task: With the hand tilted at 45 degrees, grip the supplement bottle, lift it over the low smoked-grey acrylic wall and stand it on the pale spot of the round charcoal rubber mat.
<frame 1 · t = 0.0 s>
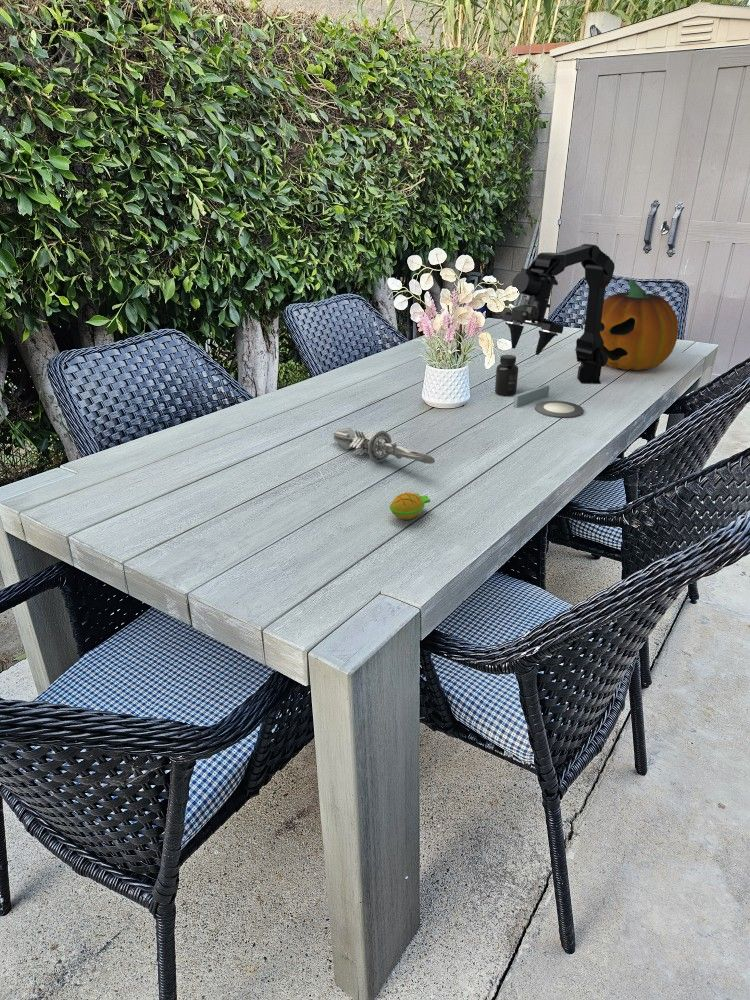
hand: (524, 351, 204), 15 cm above the table, fingers open, 9 cm apart
orange green rounded piece: (409, 516, 144), on the table
supplement bottle: (505, 394, 218), on the table
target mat: (558, 409, 204), on the table
acrylic wall: (531, 401, 211), on the table
spaceship: (380, 462, 169), on the table
decorative pumpkin: (625, 366, 248), on the table
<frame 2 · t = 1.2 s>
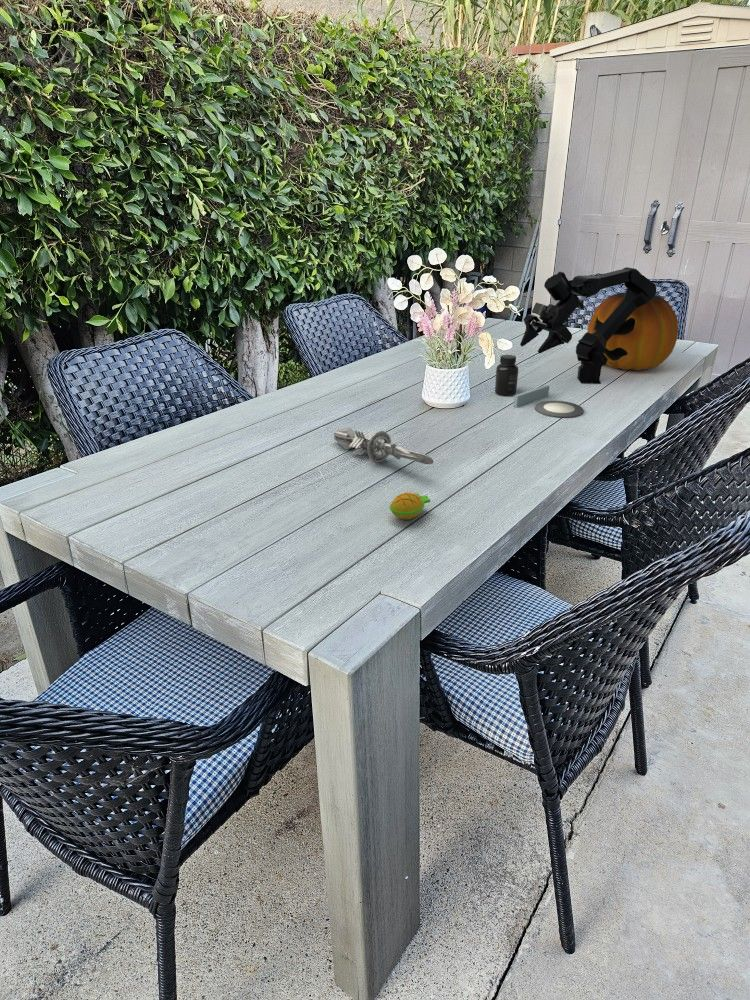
hand: (529, 349, 214), 14 cm above the table, fingers open, 9 cm apart
nothing on the table moved.
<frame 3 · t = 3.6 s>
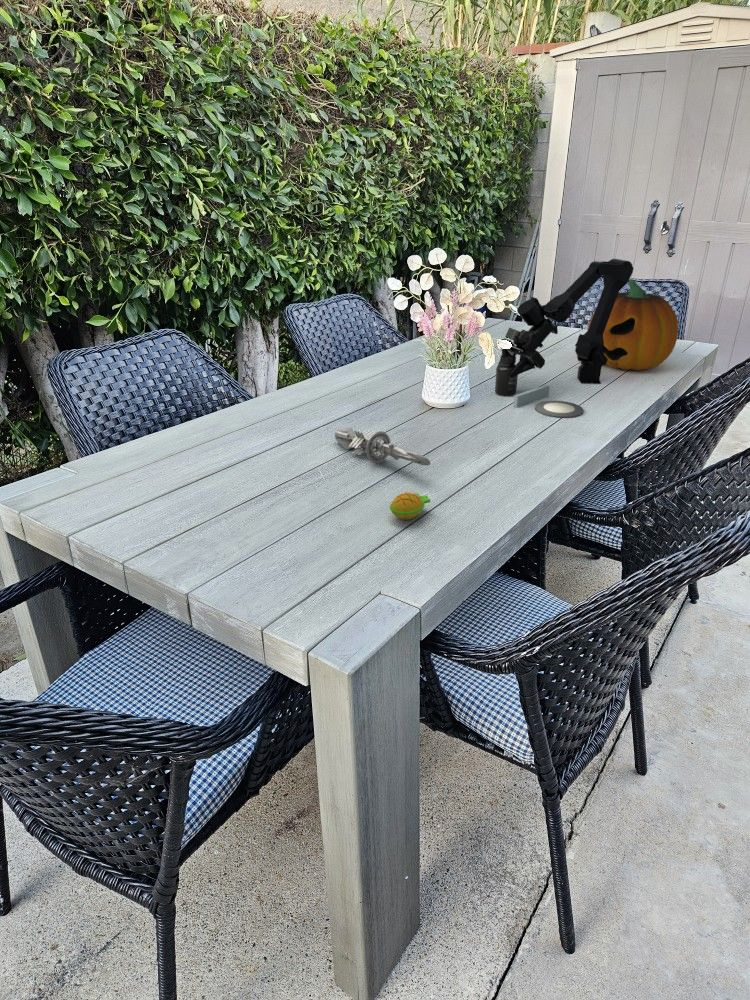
hand: (503, 373, 214), 7 cm above the table, fingers closed on supplement bottle, 7 cm apart
supplement bottle: (505, 394, 218), on the table, touching gripper
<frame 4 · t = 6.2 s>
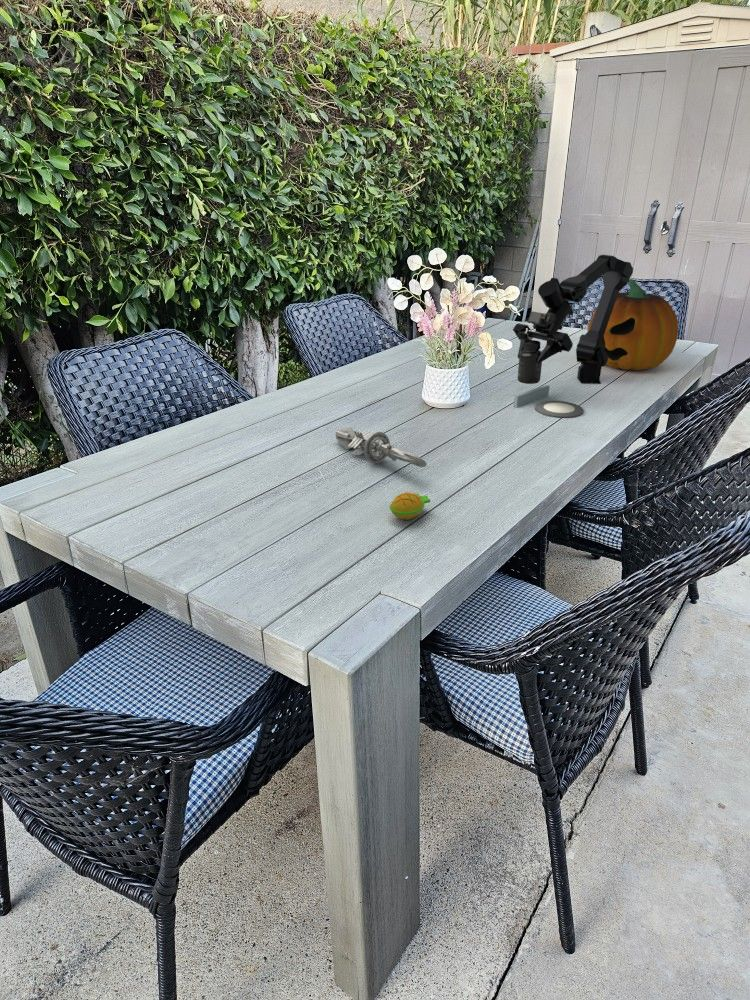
hand: (527, 360, 204), 13 cm above the table, fingers closed on supplement bottle, 7 cm apart
supplement bottle: (528, 381, 208), point 6 cm above the table, touching gripper
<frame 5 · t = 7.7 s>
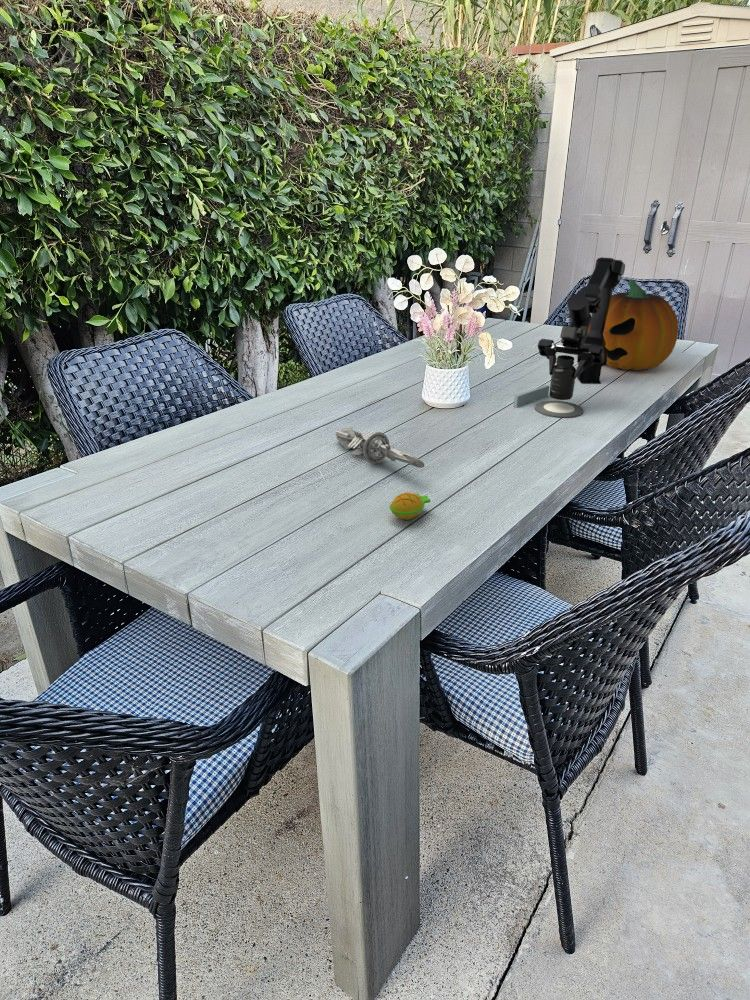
hand: (562, 376, 198), 11 cm above the table, fingers closed on supplement bottle, 7 cm apart
supplement bottle: (560, 397, 202), point 4 cm above the table, touching gripper
when the fingers open (8 cm above the table, at t = 8.7 s): supplement bottle stays where it is, resting on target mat.
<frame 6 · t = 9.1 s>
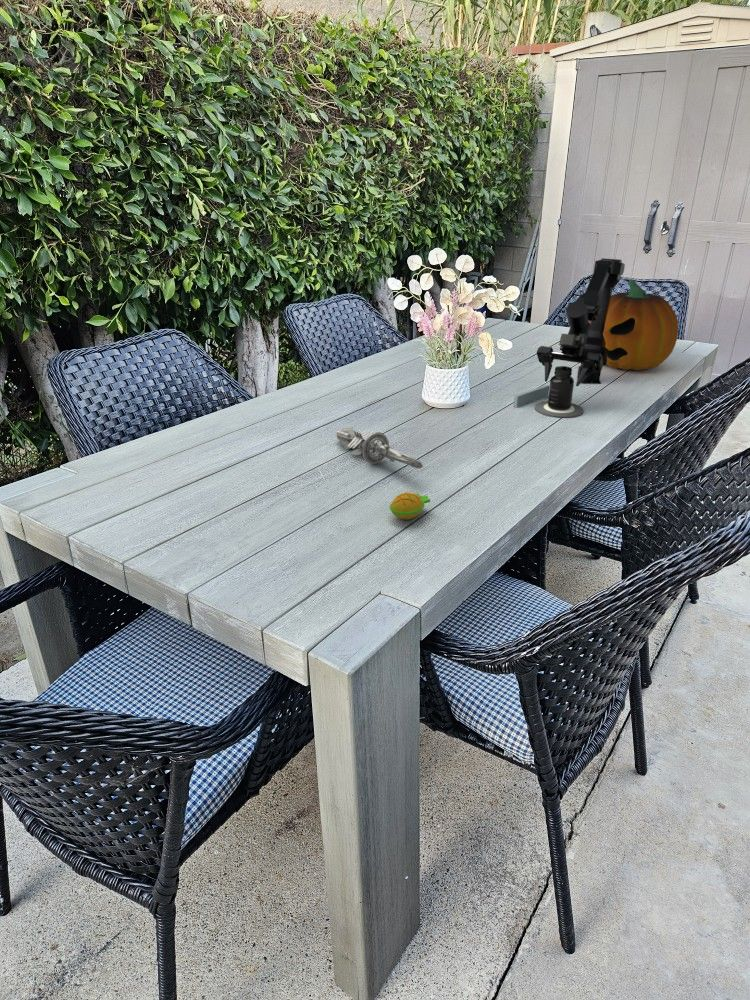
hand: (561, 383, 199), 9 cm above the table, fingers open, 9 cm apart
supplement bottle: (558, 408, 204), point 1 cm above the table, touching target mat
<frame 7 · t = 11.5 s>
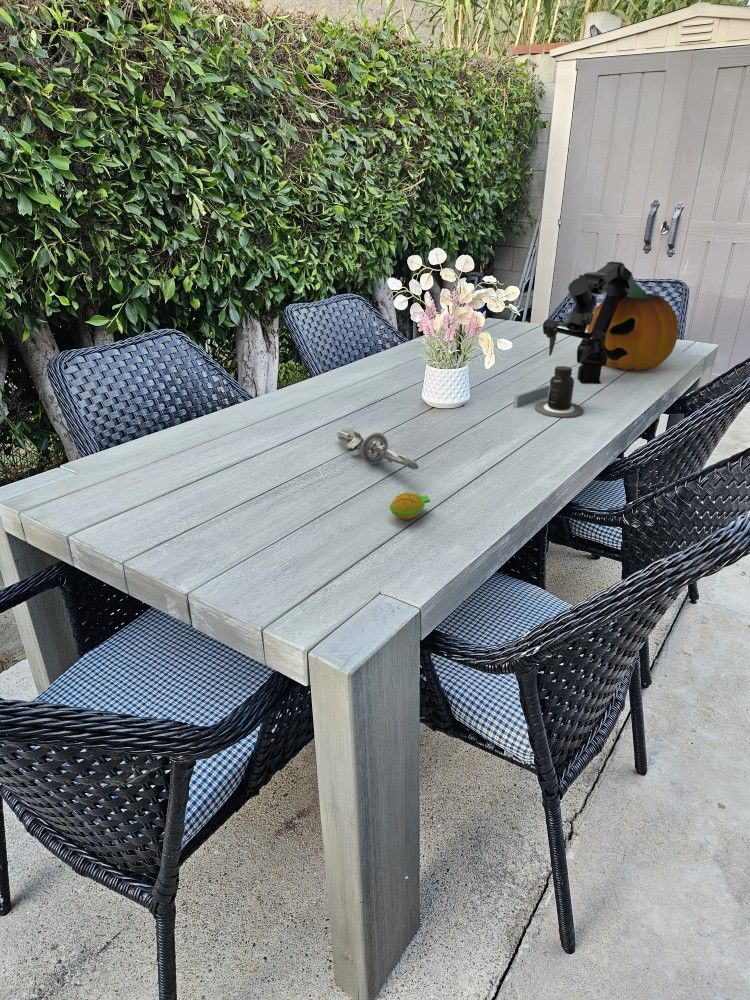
hand: (564, 359, 206), 13 cm above the table, fingers open, 9 cm apart
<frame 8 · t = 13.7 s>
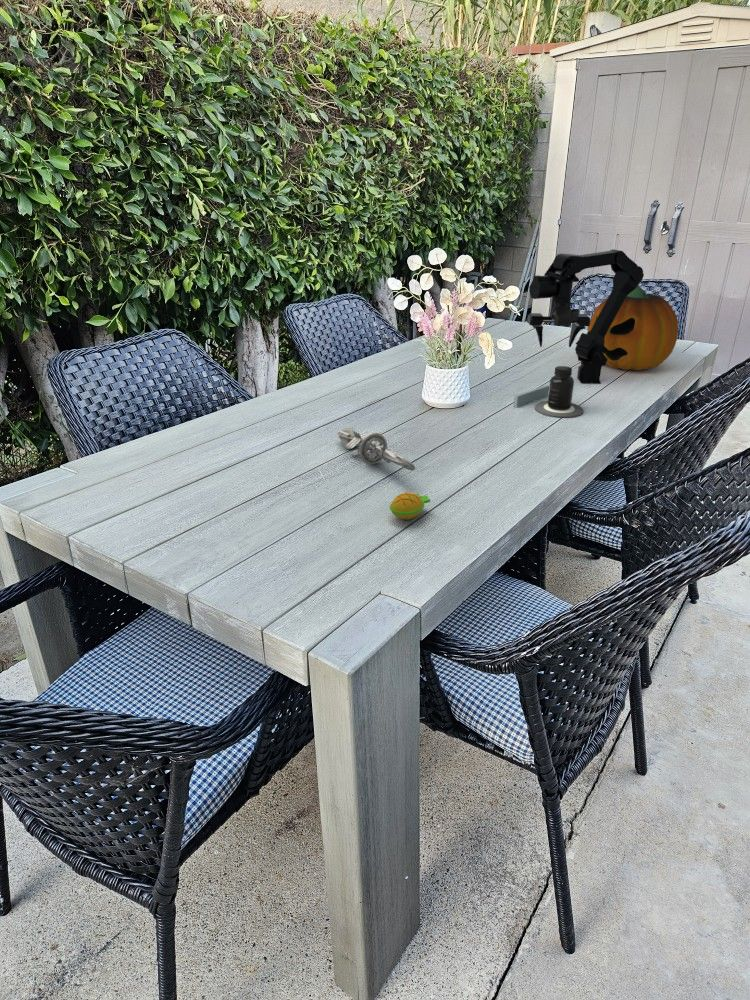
hand: (555, 346, 219), 13 cm above the table, fingers open, 9 cm apart
at the end: supplement bottle 0.2 cm from the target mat (horizontally); supplement bottle tilted 0°; the gripper is holding nothing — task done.
